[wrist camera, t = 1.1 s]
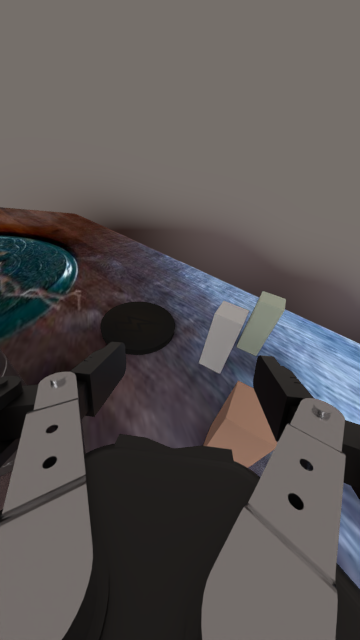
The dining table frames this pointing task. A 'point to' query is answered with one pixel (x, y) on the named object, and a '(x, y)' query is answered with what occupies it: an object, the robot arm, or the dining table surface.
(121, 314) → the wireless charger
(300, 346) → the dining table surface
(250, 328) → the sage block
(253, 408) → the terracotta block
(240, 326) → the light grey block
